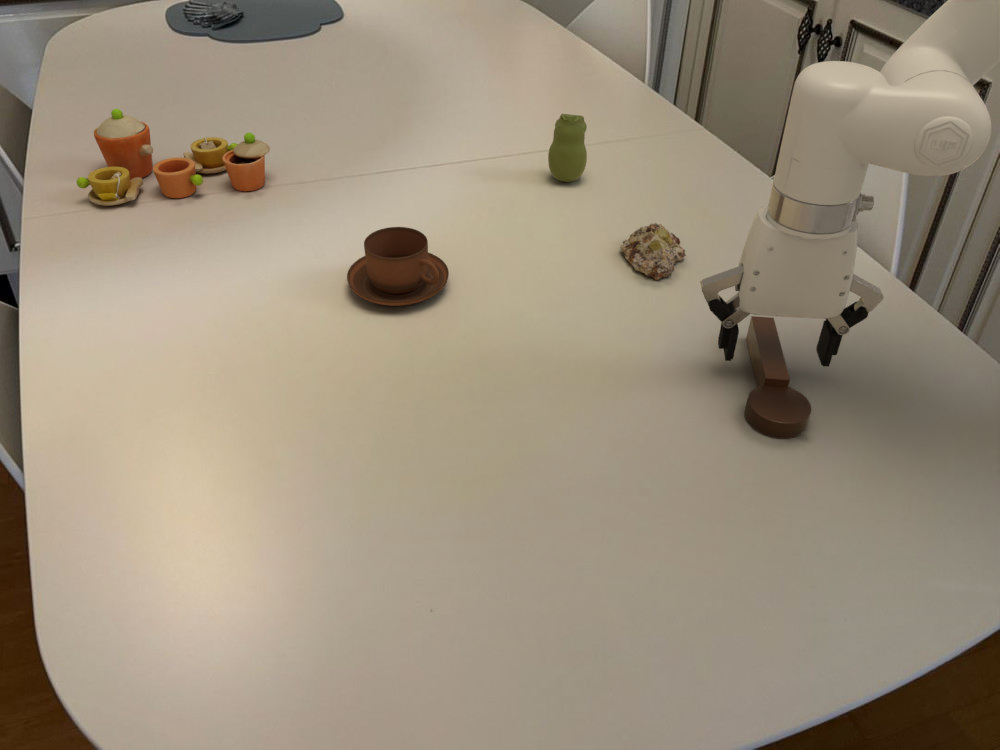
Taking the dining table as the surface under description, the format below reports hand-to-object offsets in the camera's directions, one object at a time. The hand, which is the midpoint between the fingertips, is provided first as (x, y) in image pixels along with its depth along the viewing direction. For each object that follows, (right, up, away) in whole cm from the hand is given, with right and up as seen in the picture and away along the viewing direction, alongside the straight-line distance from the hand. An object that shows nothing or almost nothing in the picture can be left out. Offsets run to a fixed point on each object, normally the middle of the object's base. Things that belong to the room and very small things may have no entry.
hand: (774, 355), depth 88 cm
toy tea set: (-75, +26, +36) cm, 87 cm away
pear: (-19, +27, +38) cm, 50 cm away
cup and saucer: (-41, +8, +14) cm, 44 cm away
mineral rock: (-9, +13, +20) cm, 25 cm away
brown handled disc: (-1, -3, 0) cm, 3 cm away
